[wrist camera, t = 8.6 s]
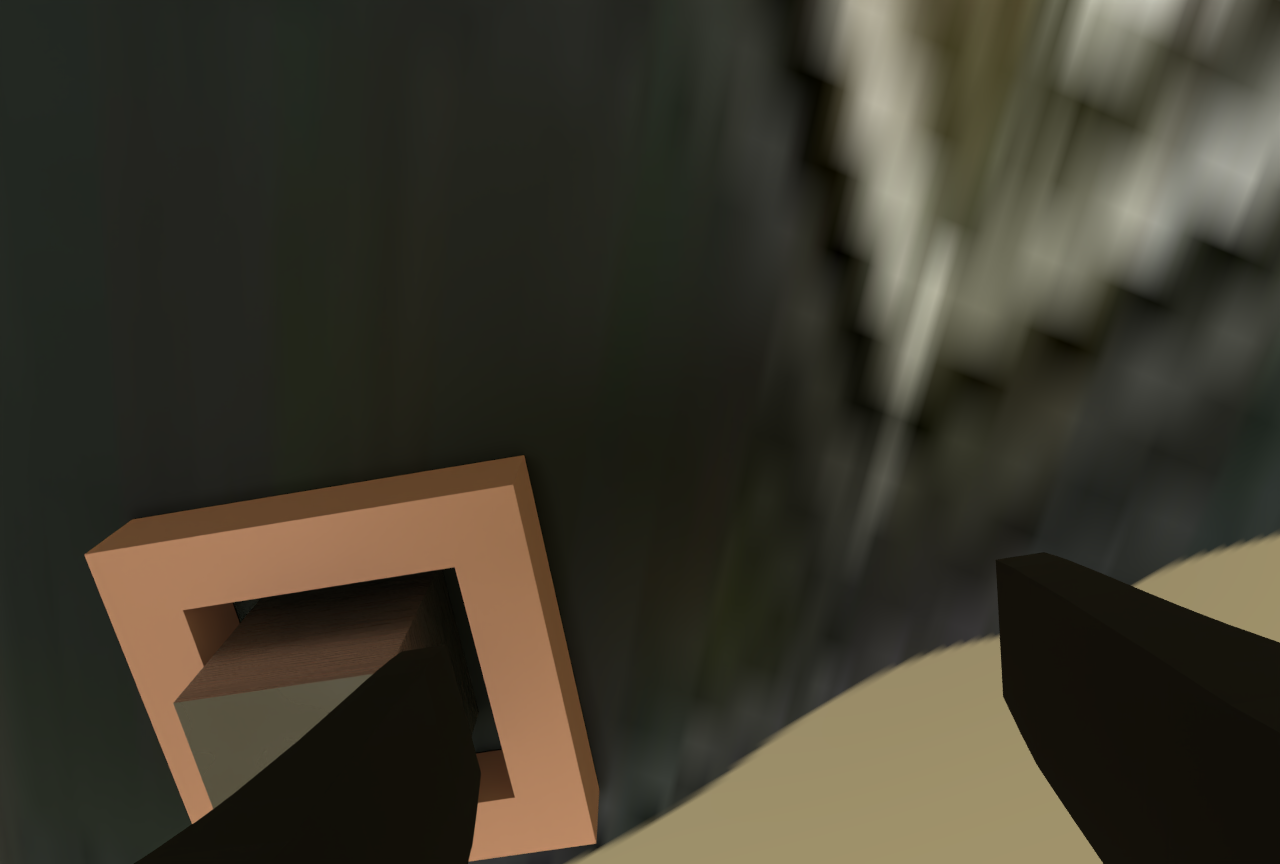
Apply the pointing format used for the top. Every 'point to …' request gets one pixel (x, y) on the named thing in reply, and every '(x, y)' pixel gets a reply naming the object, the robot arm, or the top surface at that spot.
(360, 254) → the top surface
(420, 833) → the robot arm
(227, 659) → the steel block
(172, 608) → the hole plate
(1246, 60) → the top surface
